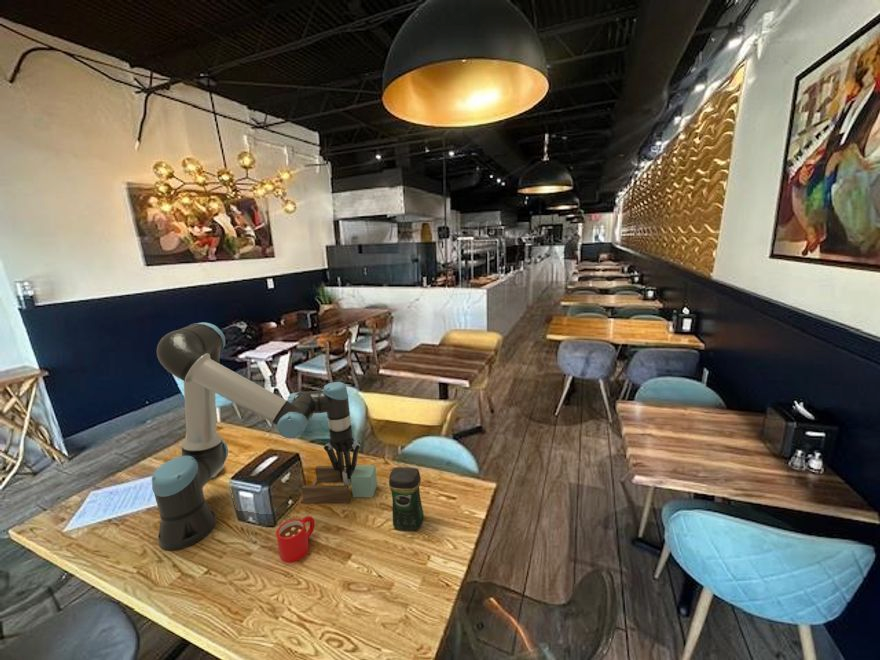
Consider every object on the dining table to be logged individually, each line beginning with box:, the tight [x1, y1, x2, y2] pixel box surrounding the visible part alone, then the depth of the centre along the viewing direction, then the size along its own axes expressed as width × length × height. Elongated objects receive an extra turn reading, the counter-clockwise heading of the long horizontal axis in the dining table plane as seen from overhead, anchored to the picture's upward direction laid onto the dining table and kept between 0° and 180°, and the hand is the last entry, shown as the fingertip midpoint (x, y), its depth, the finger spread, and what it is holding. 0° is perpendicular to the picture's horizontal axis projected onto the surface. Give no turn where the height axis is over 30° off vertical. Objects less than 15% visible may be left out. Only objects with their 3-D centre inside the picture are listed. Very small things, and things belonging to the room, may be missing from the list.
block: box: [350, 464, 378, 498], centre depth 132 cm, size 7×7×8 cm
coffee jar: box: [388, 466, 425, 531], centre depth 115 cm, size 10×8×19 cm
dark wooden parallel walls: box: [300, 465, 354, 505], centre depth 133 cm, size 13×17×6 cm
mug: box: [275, 515, 315, 564], centre depth 109 cm, size 8×12×8 cm, turn 154°
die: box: [211, 463, 226, 479], centre depth 147 cm, size 8×9×10 cm
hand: (347, 486), depth 133 cm, fingers closed
